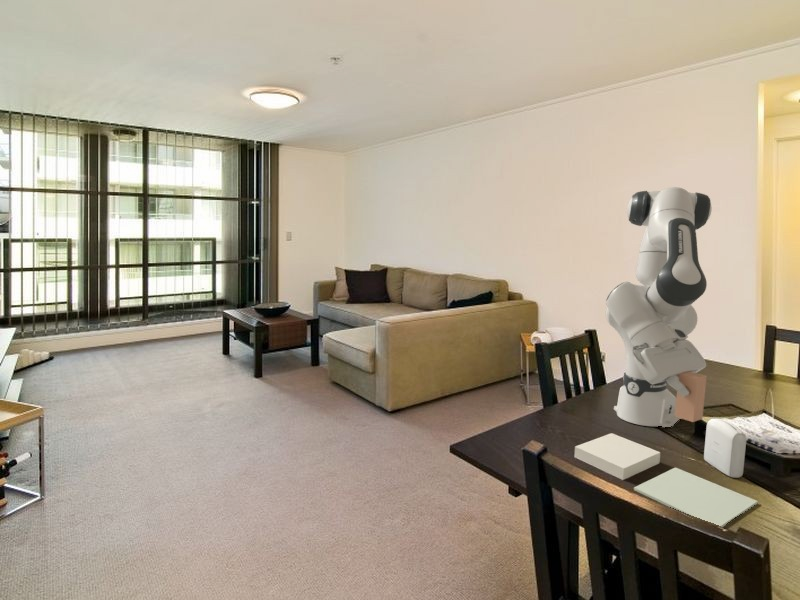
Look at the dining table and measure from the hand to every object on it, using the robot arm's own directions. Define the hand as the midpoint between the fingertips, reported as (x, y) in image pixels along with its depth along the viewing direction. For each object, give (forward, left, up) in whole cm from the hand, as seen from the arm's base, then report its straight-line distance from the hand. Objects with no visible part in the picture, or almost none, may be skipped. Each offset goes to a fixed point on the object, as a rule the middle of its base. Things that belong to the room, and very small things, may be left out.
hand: (694, 393), depth 107 cm
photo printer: (-20, -1, -24) cm, 32 cm away
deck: (-1, -18, -24) cm, 30 cm away
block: (0, -1, -6) cm, 6 cm away
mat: (0, +2, -24) cm, 24 cm away
